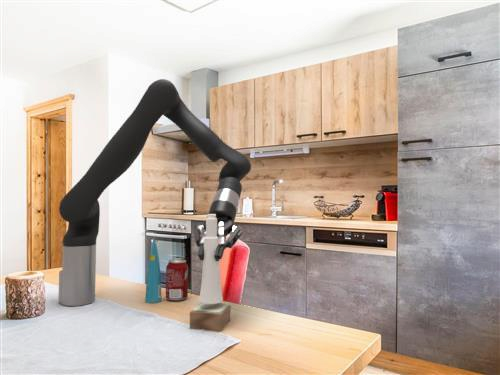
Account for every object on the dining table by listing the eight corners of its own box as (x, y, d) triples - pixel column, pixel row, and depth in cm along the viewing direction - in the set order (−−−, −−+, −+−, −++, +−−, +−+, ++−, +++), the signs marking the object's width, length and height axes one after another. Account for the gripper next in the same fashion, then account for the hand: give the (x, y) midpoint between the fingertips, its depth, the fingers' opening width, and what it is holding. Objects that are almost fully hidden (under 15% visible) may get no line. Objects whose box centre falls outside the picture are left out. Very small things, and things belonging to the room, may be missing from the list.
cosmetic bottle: (195, 303, 91) (196, 214, 91) (203, 296, 97) (204, 213, 97) (218, 305, 90) (219, 214, 90) (225, 298, 95) (226, 213, 96)
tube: (143, 298, 116) (145, 237, 116) (159, 297, 117) (160, 236, 118) (147, 305, 109) (148, 240, 109) (163, 303, 111) (164, 239, 111)
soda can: (182, 302, 112) (183, 263, 112) (162, 301, 113) (162, 262, 113) (190, 296, 118) (191, 259, 118) (171, 295, 119) (171, 258, 120)
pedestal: (189, 328, 90) (189, 310, 90) (201, 318, 98) (201, 301, 98) (220, 331, 88) (221, 313, 88) (230, 320, 96) (230, 303, 96)
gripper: (197, 198, 103) (178, 248, 91) (246, 199, 99) (233, 251, 87) (203, 216, 108) (186, 266, 96) (250, 217, 104) (238, 269, 92)
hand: (208, 258), depth 91 cm, fingers closed on cosmetic bottle, 3 cm apart
